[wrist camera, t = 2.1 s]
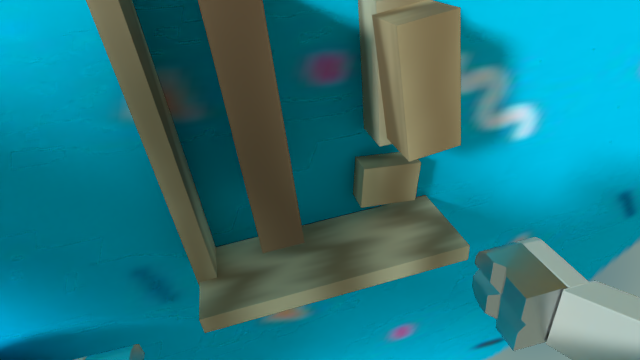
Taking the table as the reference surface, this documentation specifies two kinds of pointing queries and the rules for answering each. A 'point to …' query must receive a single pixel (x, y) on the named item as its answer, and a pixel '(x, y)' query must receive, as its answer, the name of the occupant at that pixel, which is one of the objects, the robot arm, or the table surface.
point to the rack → (246, 256)
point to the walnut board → (255, 116)
